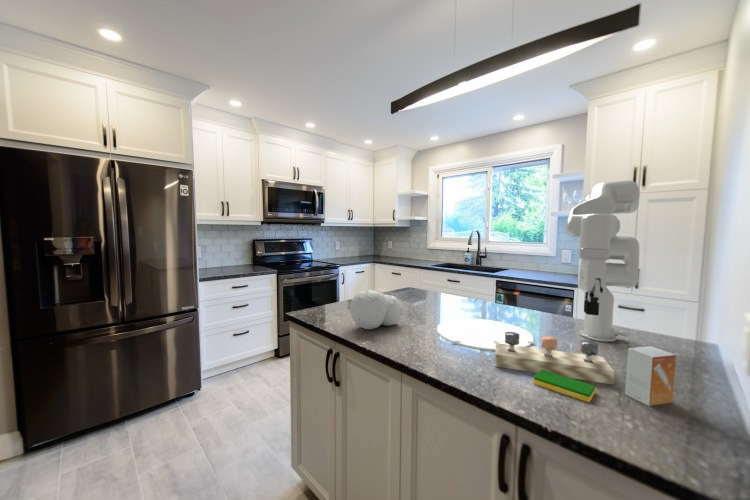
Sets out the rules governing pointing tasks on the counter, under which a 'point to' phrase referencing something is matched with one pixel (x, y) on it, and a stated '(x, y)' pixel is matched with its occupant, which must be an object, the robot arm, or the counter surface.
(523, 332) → the lazy susan
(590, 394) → the dish sponge
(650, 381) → the small box
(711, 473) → the counter surface
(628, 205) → the robot arm
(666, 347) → the counter surface
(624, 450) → the counter surface
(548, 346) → the middle knob
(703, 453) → the counter surface
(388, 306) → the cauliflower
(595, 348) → the near knob
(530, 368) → the knob mount
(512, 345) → the far knob
